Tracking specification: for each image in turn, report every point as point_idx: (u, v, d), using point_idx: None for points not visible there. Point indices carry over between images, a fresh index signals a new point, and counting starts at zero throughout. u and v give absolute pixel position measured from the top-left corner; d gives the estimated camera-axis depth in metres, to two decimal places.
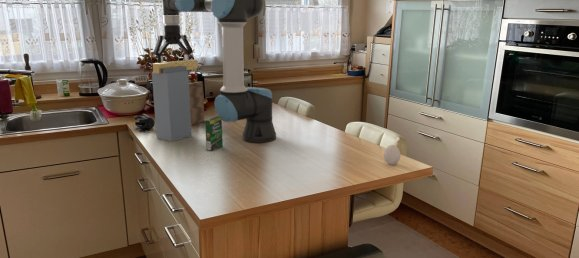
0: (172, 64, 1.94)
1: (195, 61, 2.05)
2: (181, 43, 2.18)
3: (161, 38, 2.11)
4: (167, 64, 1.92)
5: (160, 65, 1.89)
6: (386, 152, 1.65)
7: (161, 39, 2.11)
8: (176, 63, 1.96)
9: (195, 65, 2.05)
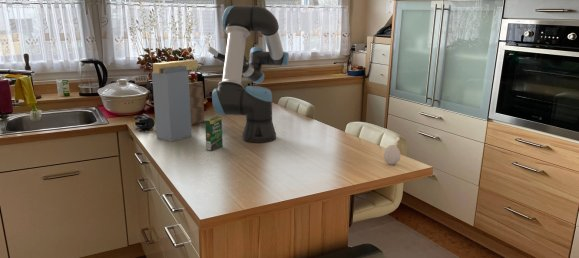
0: (172, 64, 1.94)
1: (195, 61, 2.05)
2: None
3: None
4: (167, 64, 1.92)
5: (160, 65, 1.89)
6: (386, 152, 1.65)
7: None
8: (176, 63, 1.96)
9: (195, 65, 2.05)
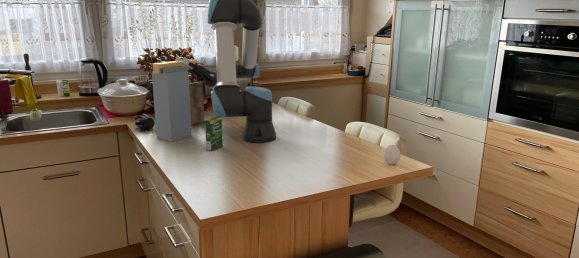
0: (172, 64, 1.94)
1: (195, 61, 2.05)
2: None
3: None
4: (167, 64, 1.92)
5: (160, 65, 1.89)
6: (386, 152, 1.65)
7: None
8: (176, 63, 1.96)
9: None
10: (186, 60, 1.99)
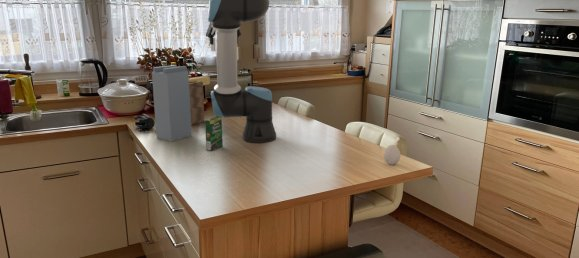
0: None
1: (208, 77, 2.35)
2: None
3: None
4: None
5: None
6: (386, 152, 1.65)
7: None
8: (192, 80, 2.26)
9: (208, 81, 2.35)
10: None
